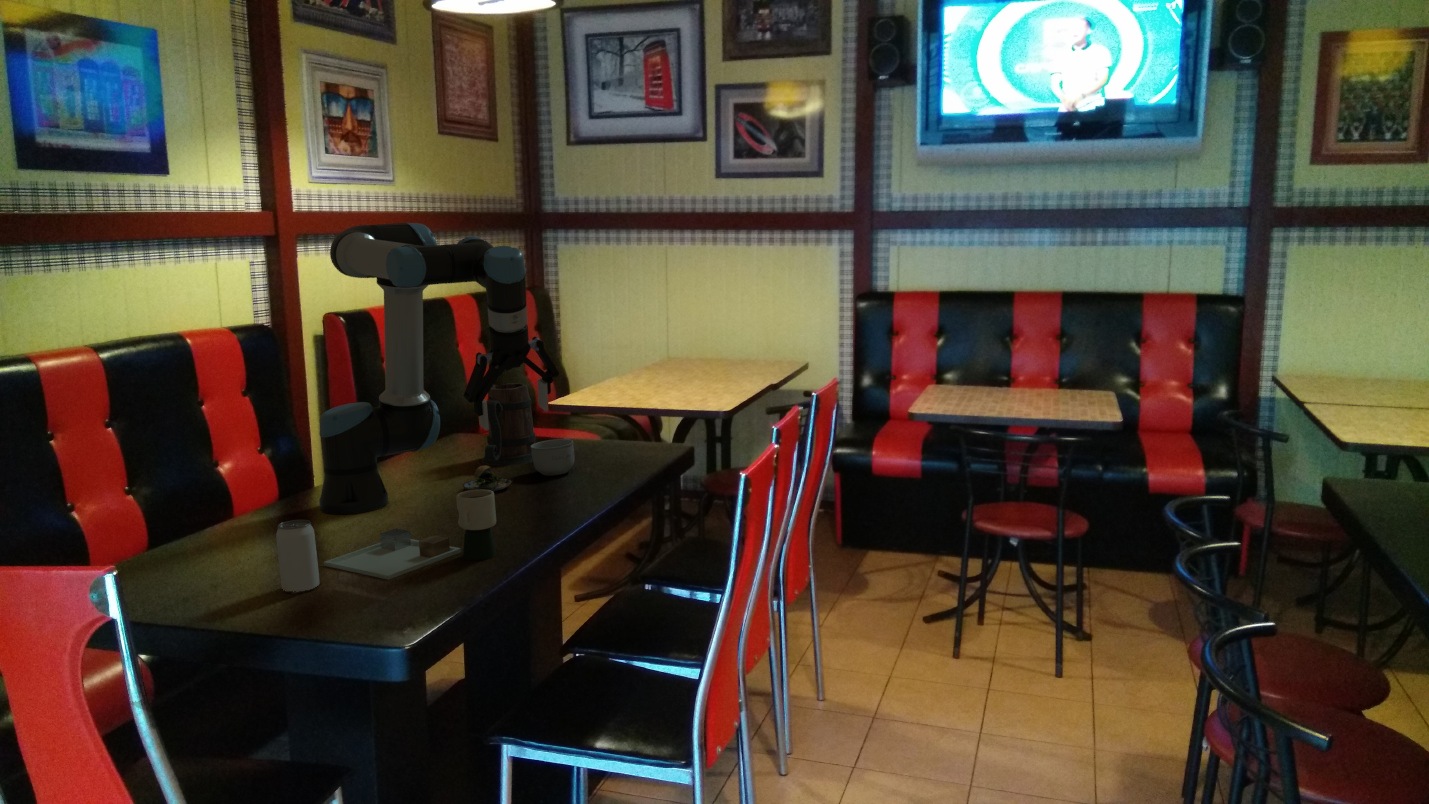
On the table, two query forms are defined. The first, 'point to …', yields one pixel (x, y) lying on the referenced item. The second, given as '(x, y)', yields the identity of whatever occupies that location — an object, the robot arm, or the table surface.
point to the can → (297, 555)
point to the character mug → (477, 523)
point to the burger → (486, 481)
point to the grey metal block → (395, 539)
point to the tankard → (509, 425)
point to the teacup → (553, 456)
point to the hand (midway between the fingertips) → (514, 417)
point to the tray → (386, 560)
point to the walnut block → (433, 546)
